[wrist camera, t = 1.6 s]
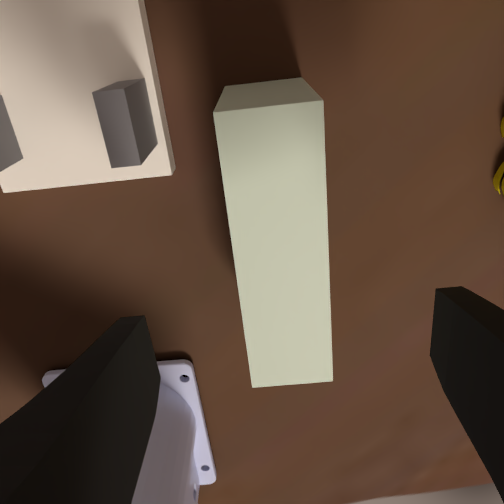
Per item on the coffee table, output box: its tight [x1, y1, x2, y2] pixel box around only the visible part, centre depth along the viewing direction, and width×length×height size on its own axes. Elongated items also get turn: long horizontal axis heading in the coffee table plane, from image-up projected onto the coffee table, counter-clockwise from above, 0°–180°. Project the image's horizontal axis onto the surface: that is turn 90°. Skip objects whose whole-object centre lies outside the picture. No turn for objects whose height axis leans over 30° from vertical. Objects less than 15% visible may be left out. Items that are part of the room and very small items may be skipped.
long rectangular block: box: [213, 77, 333, 388], centre depth 17 cm, size 10×3×6 cm, turn 6°
